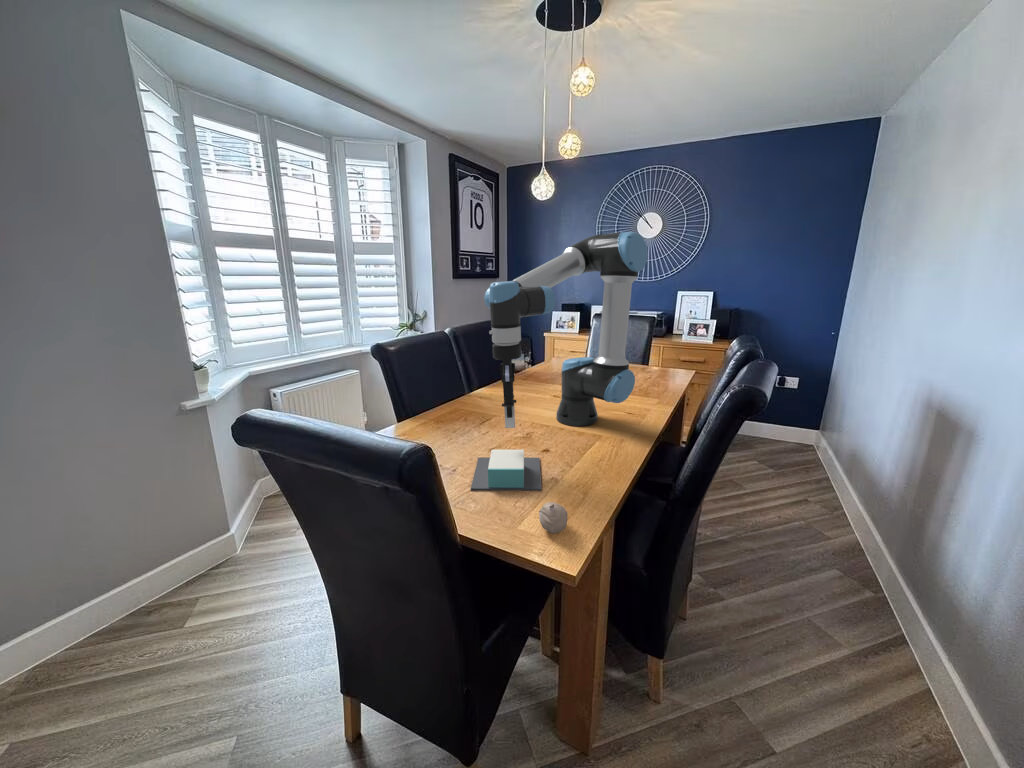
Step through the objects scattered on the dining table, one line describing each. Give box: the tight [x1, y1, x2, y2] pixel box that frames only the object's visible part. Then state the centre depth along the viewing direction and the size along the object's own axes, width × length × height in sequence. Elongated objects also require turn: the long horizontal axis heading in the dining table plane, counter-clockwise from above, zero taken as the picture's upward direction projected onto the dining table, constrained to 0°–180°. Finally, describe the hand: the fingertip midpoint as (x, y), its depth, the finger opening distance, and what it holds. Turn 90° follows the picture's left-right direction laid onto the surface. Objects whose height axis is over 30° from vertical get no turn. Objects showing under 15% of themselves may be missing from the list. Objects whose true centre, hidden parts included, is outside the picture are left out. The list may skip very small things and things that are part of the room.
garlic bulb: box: [538, 501, 569, 535], centre depth 88 cm, size 7×6×8 cm
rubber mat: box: [470, 456, 543, 492], centre depth 113 cm, size 18×18×1 cm
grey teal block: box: [488, 449, 525, 488], centre depth 110 cm, size 9×5×12 cm
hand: (510, 426), depth 114 cm, fingers closed
